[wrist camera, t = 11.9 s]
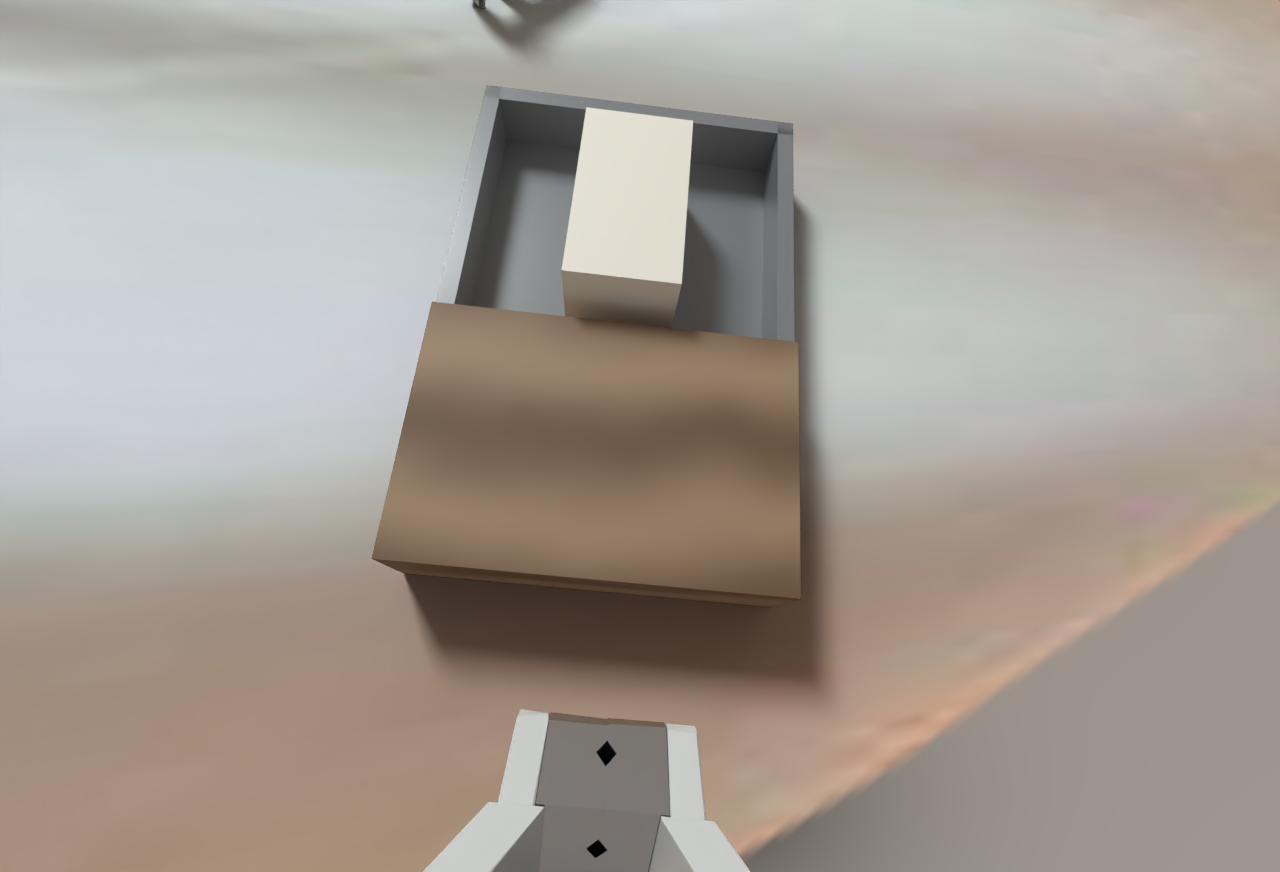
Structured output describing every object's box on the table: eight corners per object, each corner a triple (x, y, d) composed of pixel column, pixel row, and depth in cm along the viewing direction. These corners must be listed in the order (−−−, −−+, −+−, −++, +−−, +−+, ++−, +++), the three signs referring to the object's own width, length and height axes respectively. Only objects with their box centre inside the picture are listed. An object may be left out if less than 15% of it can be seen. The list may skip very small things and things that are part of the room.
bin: (772, 375, 31) (794, 342, 27) (452, 341, 30) (435, 302, 27) (774, 173, 35) (792, 123, 32) (496, 139, 35) (486, 85, 31)
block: (681, 283, 25) (693, 120, 28) (561, 270, 25) (586, 107, 28) (667, 342, 30) (679, 196, 33) (566, 331, 30) (587, 185, 33)
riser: (771, 607, 27) (800, 598, 23) (403, 573, 26) (371, 558, 22) (772, 381, 31) (798, 341, 27) (451, 346, 30) (431, 301, 26)
